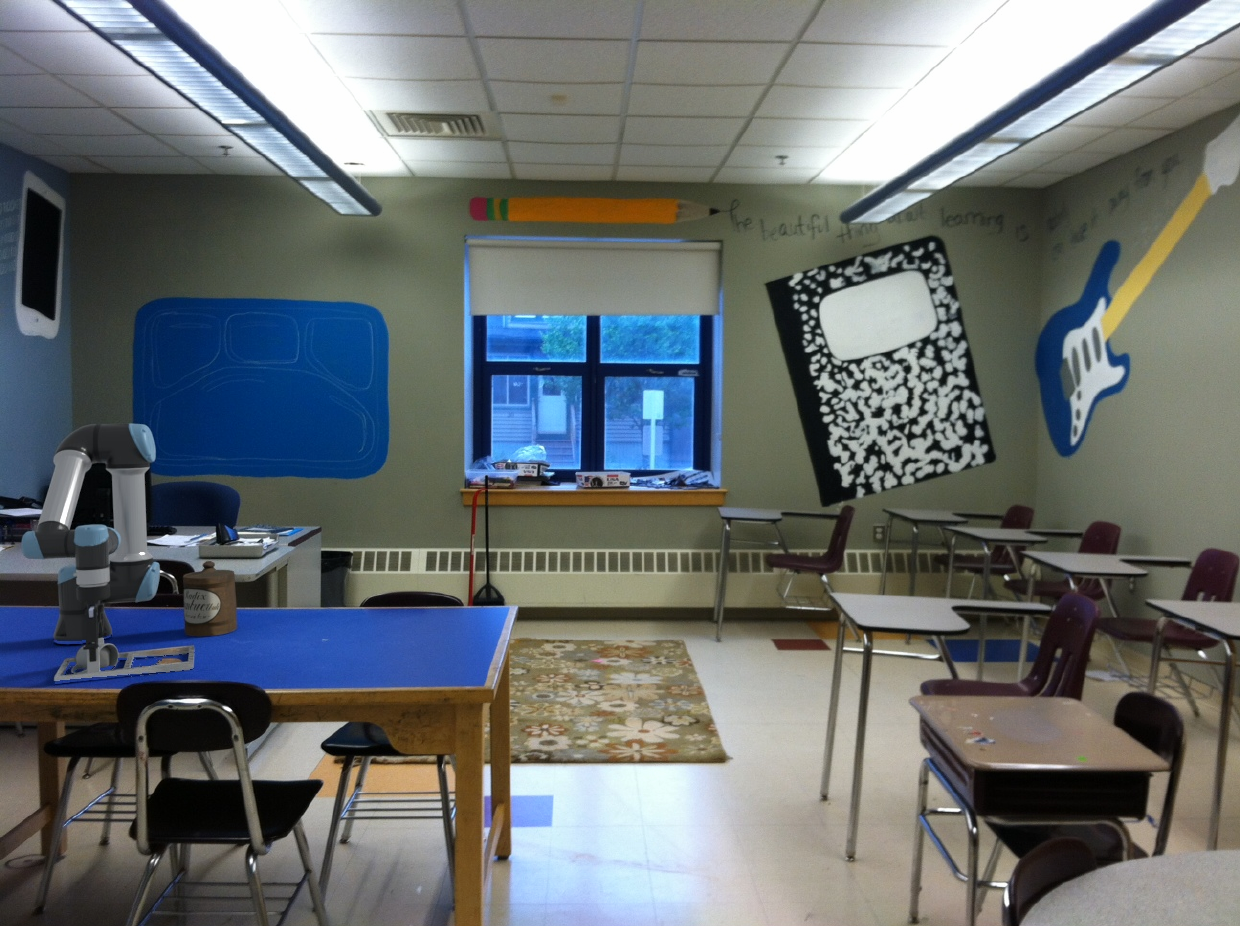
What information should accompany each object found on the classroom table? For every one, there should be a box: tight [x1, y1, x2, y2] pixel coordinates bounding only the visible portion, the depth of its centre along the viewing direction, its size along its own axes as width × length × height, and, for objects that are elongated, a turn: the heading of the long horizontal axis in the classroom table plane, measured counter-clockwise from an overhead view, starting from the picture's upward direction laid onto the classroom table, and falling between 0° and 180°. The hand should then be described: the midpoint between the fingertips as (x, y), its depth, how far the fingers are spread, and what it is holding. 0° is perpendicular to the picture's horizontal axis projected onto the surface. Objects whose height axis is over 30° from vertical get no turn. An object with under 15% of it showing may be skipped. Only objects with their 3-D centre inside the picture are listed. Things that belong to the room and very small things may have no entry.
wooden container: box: [182, 560, 238, 638], centre depth 275 cm, size 15×15×22 cm
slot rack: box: [53, 644, 196, 681], centre depth 236 cm, size 19×31×2 cm, turn 115°
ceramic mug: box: [70, 642, 119, 674], centre depth 231 cm, size 10×8×7 cm
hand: (96, 667), depth 233 cm, fingers closed on ceramic mug, 10 cm apart
